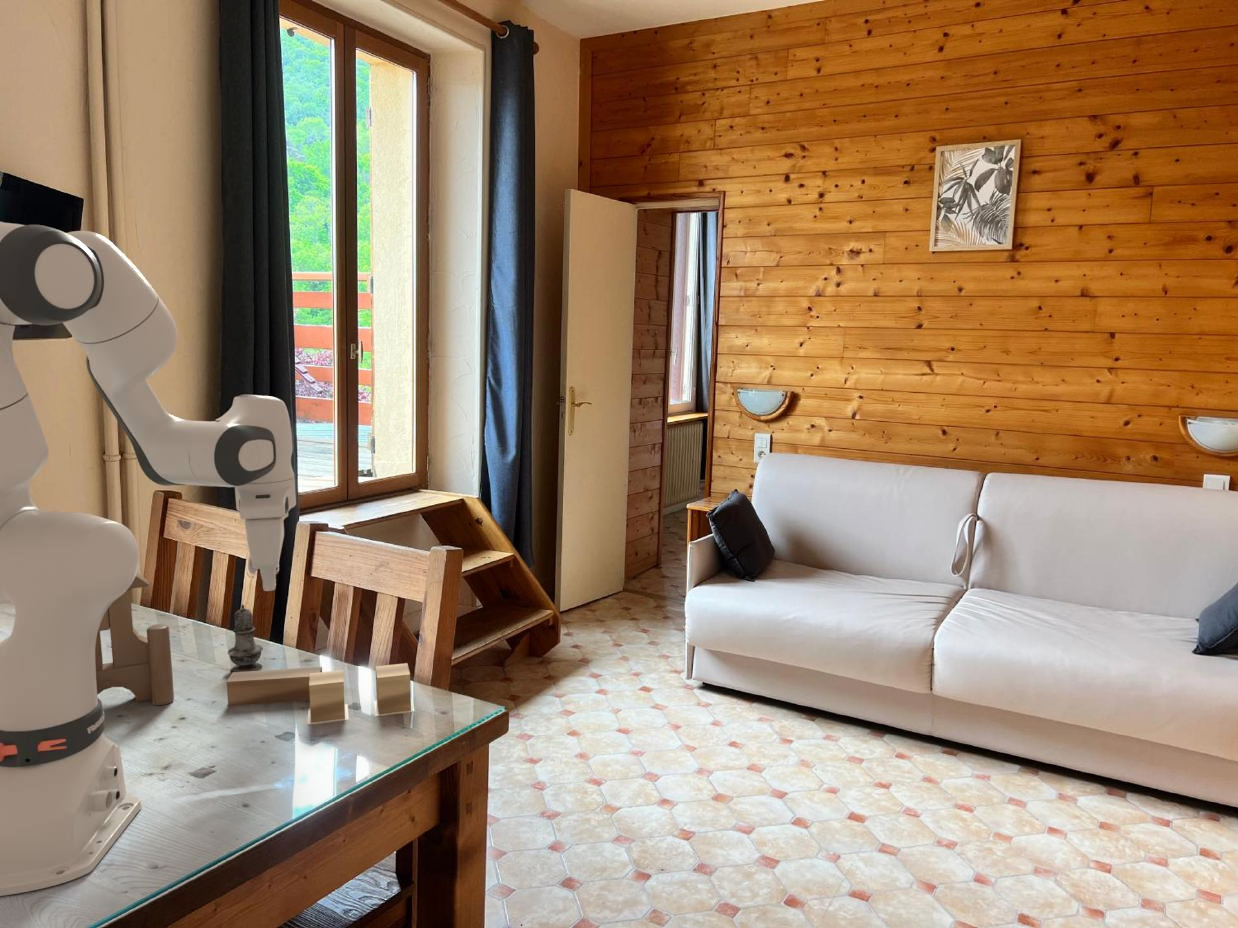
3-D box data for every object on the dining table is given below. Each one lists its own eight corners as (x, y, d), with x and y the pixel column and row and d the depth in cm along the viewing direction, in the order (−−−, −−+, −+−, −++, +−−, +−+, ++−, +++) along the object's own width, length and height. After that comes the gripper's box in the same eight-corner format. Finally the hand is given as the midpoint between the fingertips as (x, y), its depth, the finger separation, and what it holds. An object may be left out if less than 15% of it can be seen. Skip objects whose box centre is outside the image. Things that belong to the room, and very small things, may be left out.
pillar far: (411, 710, 140) (409, 674, 139) (378, 714, 139) (377, 677, 138) (408, 698, 145) (407, 662, 144) (376, 701, 143) (375, 666, 143)
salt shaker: (269, 668, 159) (266, 604, 158) (237, 677, 155) (233, 611, 153) (255, 660, 163) (251, 597, 161) (222, 669, 159) (218, 604, 157)
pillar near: (345, 718, 137) (343, 681, 136) (311, 722, 136) (309, 685, 135) (344, 705, 142) (343, 669, 141) (311, 709, 140) (309, 673, 140)
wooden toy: (63, 723, 137) (48, 566, 133) (65, 707, 142) (51, 556, 139) (174, 703, 144) (164, 553, 141) (172, 689, 150) (161, 545, 146)
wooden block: (319, 705, 144) (318, 675, 144) (228, 711, 142) (226, 681, 141) (323, 695, 148) (321, 666, 148) (234, 701, 146) (232, 672, 145)
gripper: (249, 486, 149) (255, 565, 151) (238, 511, 130) (244, 601, 132) (289, 483, 151) (294, 562, 153) (284, 508, 132) (289, 597, 134)
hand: (271, 581), depth 142 cm, fingers open, 8 cm apart
